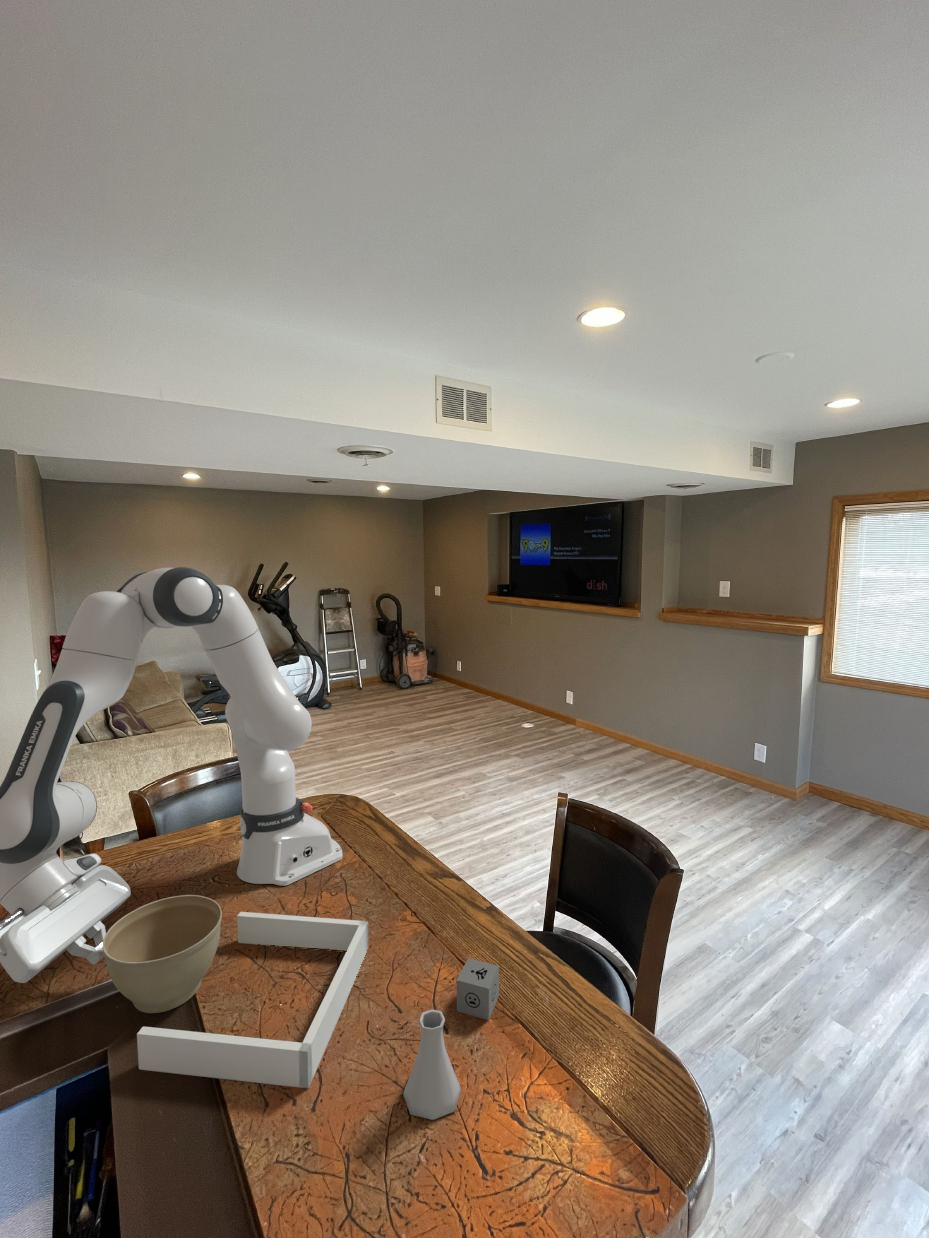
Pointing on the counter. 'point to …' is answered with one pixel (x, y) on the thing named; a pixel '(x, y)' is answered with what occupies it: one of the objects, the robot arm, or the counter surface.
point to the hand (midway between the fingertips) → (103, 956)
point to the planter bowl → (163, 950)
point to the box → (255, 1054)
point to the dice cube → (478, 989)
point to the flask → (432, 1073)
